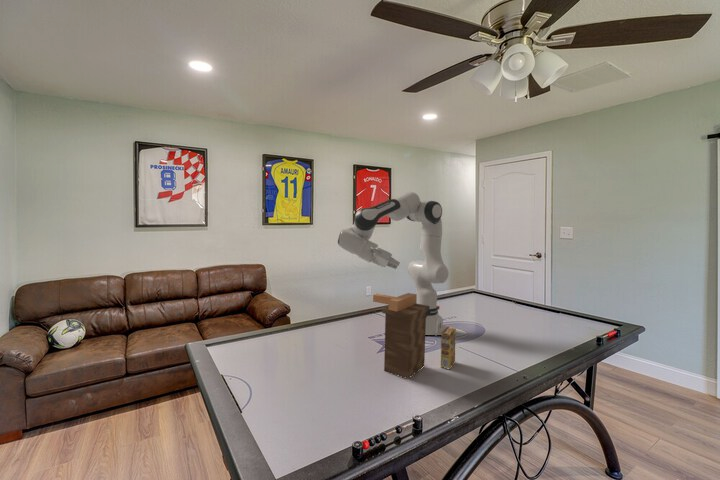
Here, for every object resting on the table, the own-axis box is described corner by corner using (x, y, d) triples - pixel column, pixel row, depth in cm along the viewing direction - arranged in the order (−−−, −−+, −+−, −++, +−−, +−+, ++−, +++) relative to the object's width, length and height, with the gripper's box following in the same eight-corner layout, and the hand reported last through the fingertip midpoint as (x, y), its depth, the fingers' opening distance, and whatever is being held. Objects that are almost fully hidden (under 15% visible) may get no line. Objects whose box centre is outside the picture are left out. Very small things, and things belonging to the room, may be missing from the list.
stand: (400, 358, 149) (402, 300, 147) (427, 366, 141) (429, 305, 139) (380, 371, 136) (382, 308, 134) (409, 381, 128) (410, 314, 127)
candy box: (449, 370, 138) (451, 333, 137) (439, 367, 140) (441, 332, 139) (455, 362, 146) (456, 327, 145) (445, 360, 148) (446, 326, 147)
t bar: (384, 297, 153) (385, 288, 152) (416, 303, 143) (416, 294, 143) (364, 304, 140) (364, 295, 140) (397, 311, 130) (397, 301, 130)
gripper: (374, 241, 141) (404, 256, 140) (372, 250, 161) (398, 263, 160) (367, 254, 140) (397, 269, 139) (366, 261, 160) (392, 274, 159)
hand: (397, 266), depth 150 cm, fingers open, 8 cm apart
